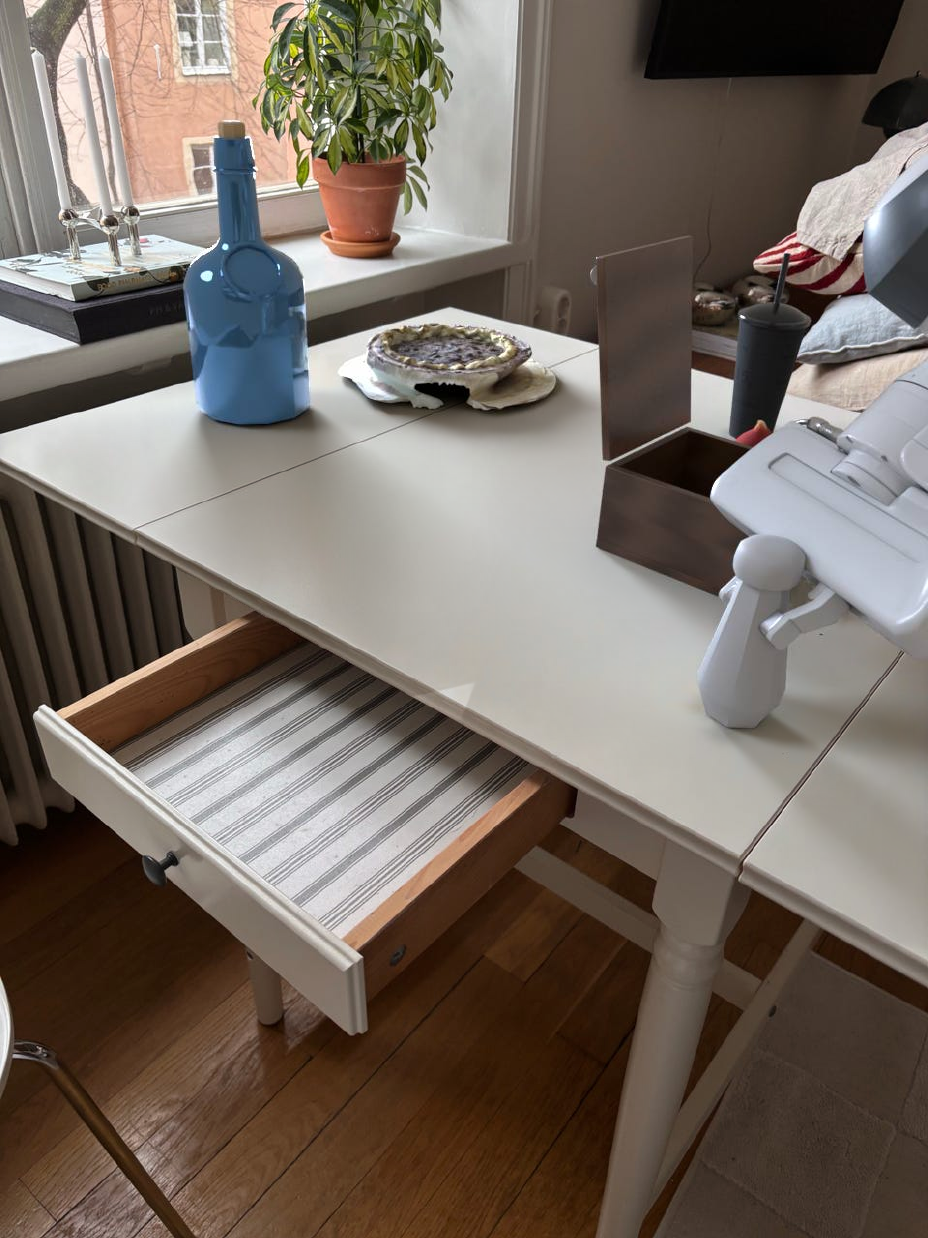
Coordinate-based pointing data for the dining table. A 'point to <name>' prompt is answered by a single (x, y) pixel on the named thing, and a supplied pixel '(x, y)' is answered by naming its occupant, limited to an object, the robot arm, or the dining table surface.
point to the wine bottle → (245, 305)
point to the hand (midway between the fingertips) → (747, 623)
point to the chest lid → (644, 342)
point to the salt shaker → (751, 634)
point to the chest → (673, 509)
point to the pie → (449, 366)
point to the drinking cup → (765, 359)
